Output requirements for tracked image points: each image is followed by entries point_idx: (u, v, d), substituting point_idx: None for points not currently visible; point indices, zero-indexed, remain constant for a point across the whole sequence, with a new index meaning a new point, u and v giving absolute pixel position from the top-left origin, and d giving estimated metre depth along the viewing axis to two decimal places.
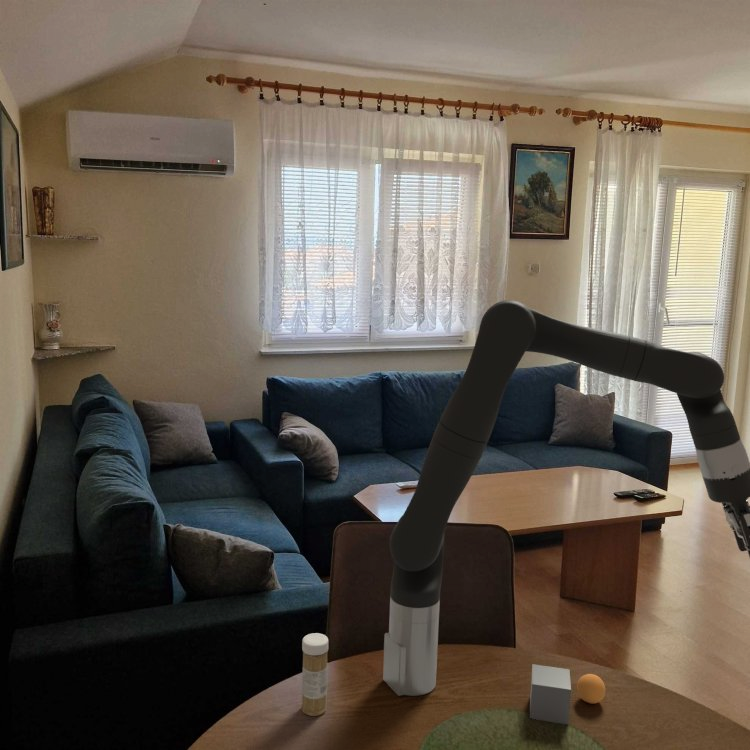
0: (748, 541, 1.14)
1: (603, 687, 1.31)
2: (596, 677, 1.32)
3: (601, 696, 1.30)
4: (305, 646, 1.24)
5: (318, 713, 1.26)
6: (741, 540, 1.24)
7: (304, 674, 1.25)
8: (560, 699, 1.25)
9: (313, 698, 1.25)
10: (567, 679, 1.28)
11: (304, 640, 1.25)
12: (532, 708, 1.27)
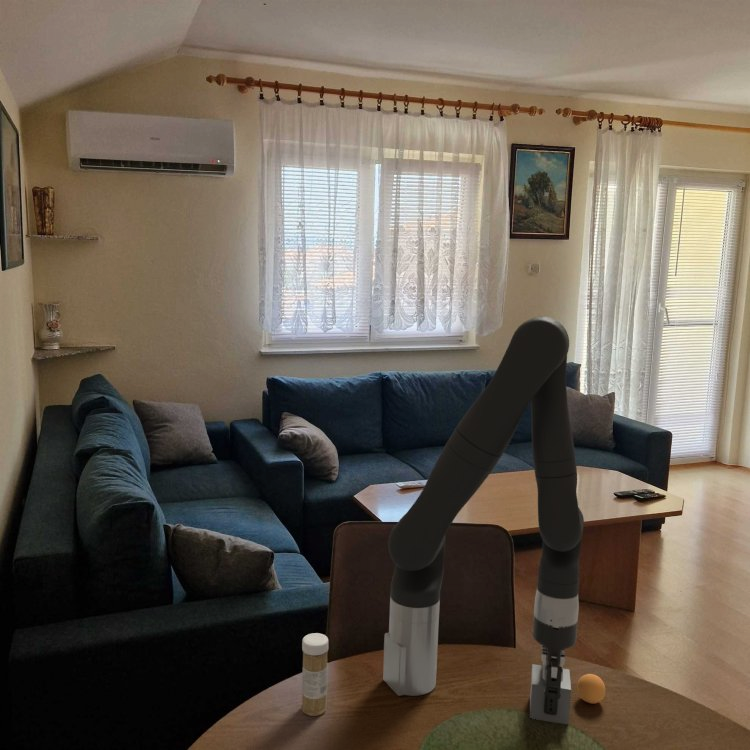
0: (546, 689, 1.22)
1: (603, 687, 1.31)
2: (596, 677, 1.32)
3: (601, 696, 1.30)
4: (305, 646, 1.24)
5: (318, 713, 1.26)
6: None
7: (304, 674, 1.25)
8: (560, 699, 1.25)
9: (313, 698, 1.25)
10: (567, 679, 1.28)
11: (304, 640, 1.25)
12: (532, 708, 1.27)
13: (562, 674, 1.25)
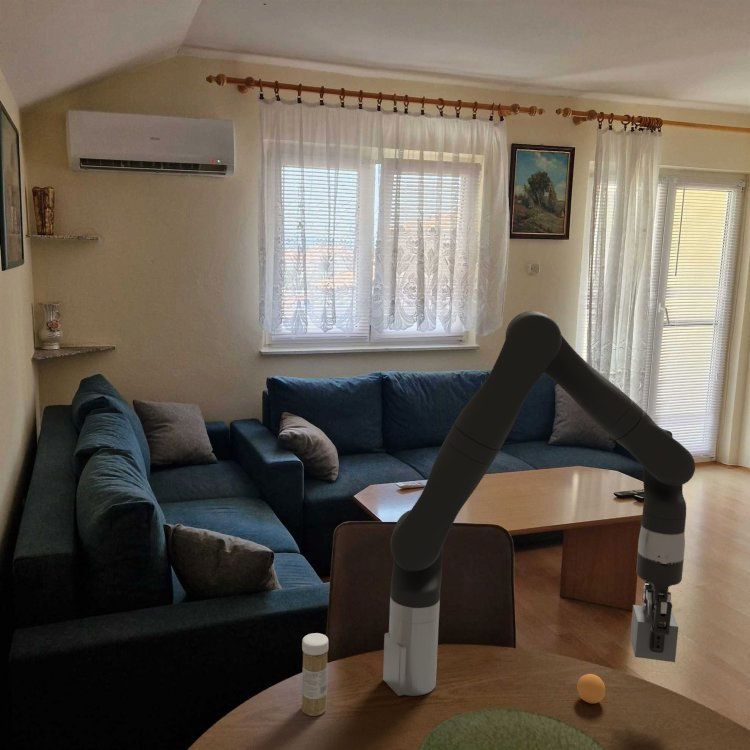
0: (655, 625, 1.22)
1: (603, 687, 1.31)
2: (596, 677, 1.32)
3: (601, 696, 1.30)
4: (305, 646, 1.24)
5: (318, 713, 1.26)
6: None
7: (304, 674, 1.25)
8: (667, 636, 1.25)
9: (313, 698, 1.25)
10: (672, 617, 1.27)
11: (304, 640, 1.25)
12: (638, 646, 1.26)
13: None
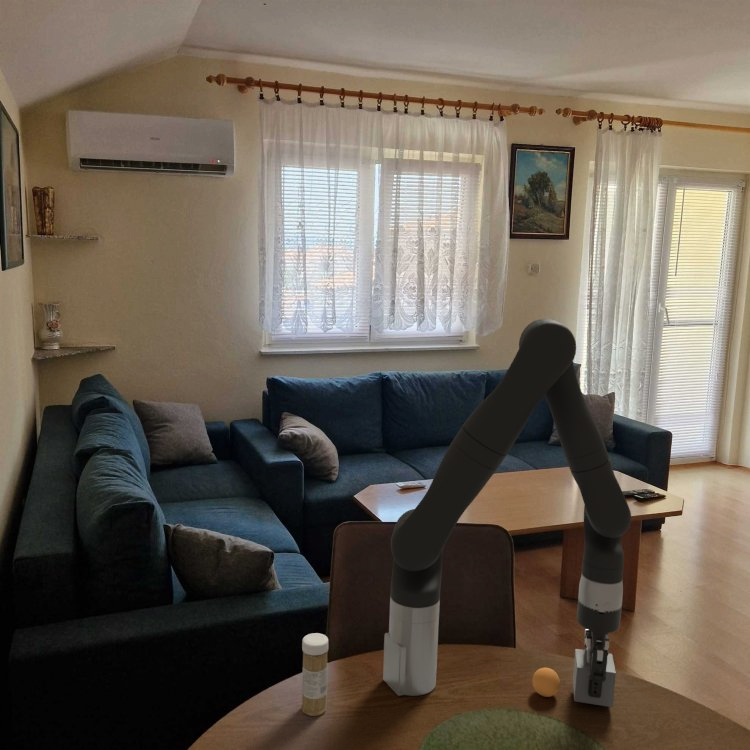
0: (592, 672, 1.25)
1: (535, 689, 1.34)
2: None
3: (537, 685, 1.33)
4: (305, 646, 1.24)
5: (318, 713, 1.26)
6: None
7: (304, 674, 1.25)
8: (605, 682, 1.28)
9: (313, 698, 1.25)
10: (611, 663, 1.31)
11: (304, 640, 1.25)
12: (577, 691, 1.30)
13: None
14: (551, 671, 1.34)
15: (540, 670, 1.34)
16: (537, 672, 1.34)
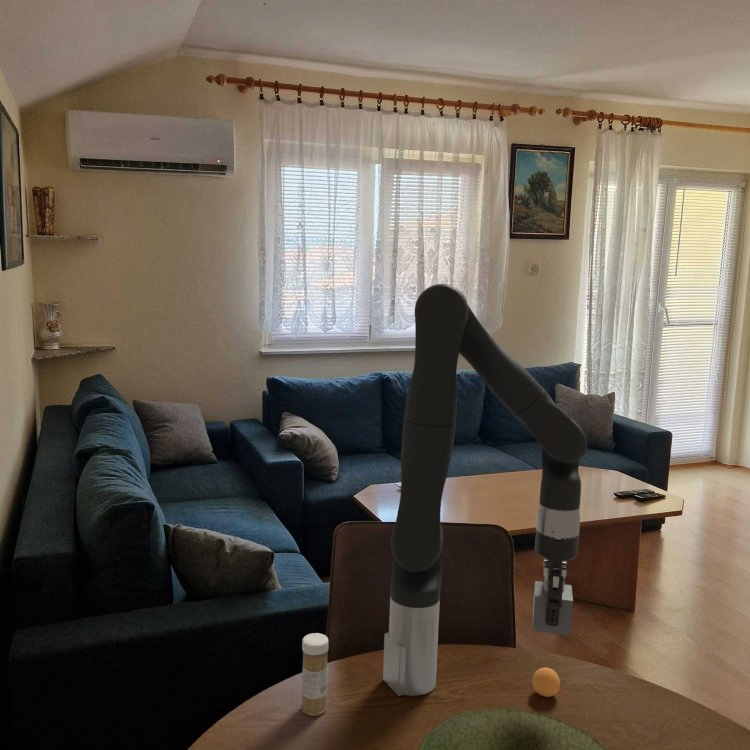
0: (548, 599, 1.25)
1: (535, 689, 1.34)
2: None
3: (537, 685, 1.33)
4: (305, 646, 1.24)
5: (318, 713, 1.26)
6: None
7: (304, 674, 1.25)
8: (562, 610, 1.28)
9: (313, 698, 1.25)
10: (569, 593, 1.31)
11: (304, 640, 1.25)
12: (535, 620, 1.30)
13: (563, 586, 1.28)
14: (551, 671, 1.34)
15: (540, 670, 1.34)
16: (537, 672, 1.34)
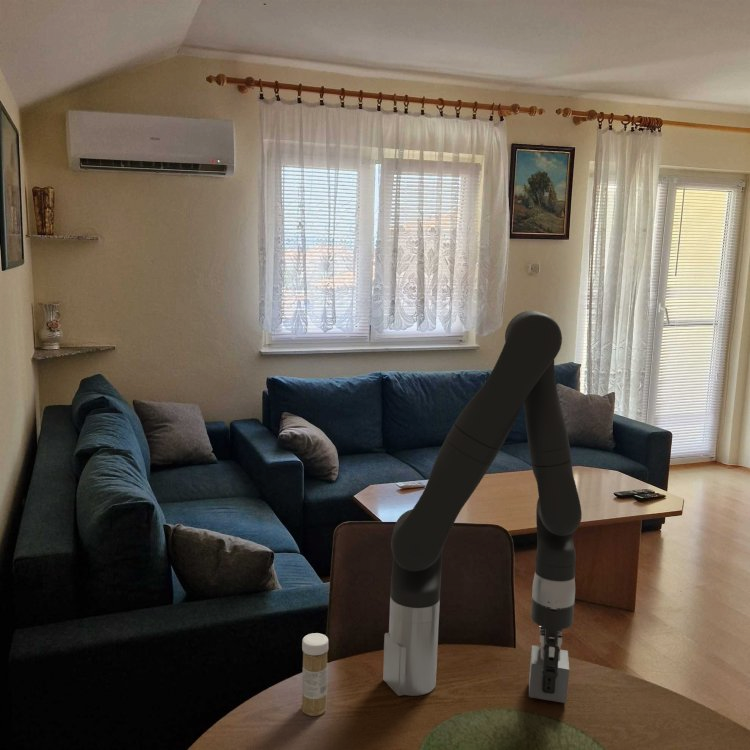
0: (544, 668, 1.27)
1: None
2: None
3: None
4: (305, 646, 1.24)
5: (318, 713, 1.26)
6: None
7: (304, 674, 1.25)
8: (558, 678, 1.30)
9: (313, 698, 1.25)
10: (565, 660, 1.33)
11: (304, 640, 1.25)
12: (531, 687, 1.32)
13: (559, 654, 1.30)
14: None
15: None
16: None
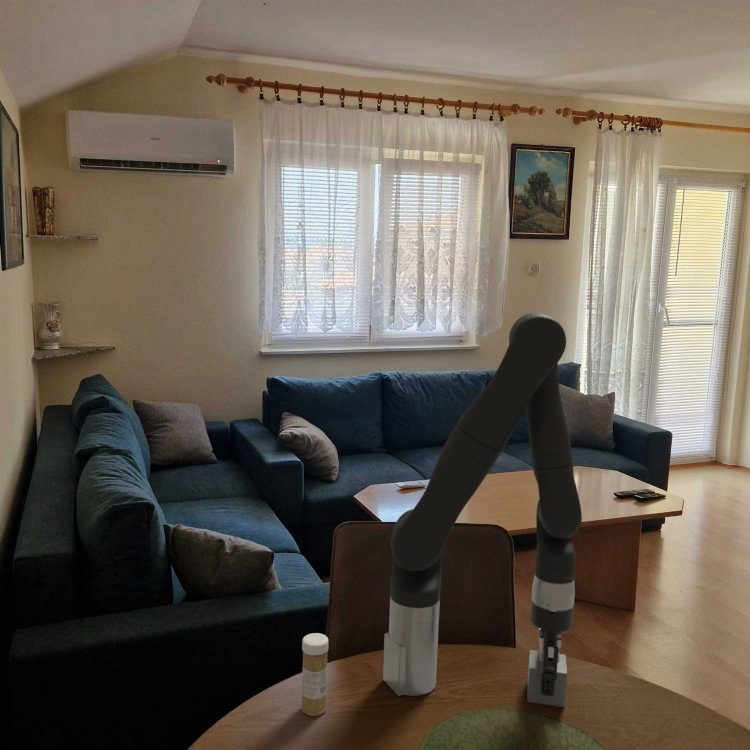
0: (543, 669, 1.27)
1: None
2: None
3: None
4: (305, 646, 1.24)
5: (318, 713, 1.26)
6: None
7: (304, 674, 1.25)
8: (556, 683, 1.30)
9: (313, 698, 1.25)
10: (563, 664, 1.33)
11: (304, 640, 1.25)
12: (529, 691, 1.32)
13: (559, 656, 1.29)
14: None
15: None
16: None
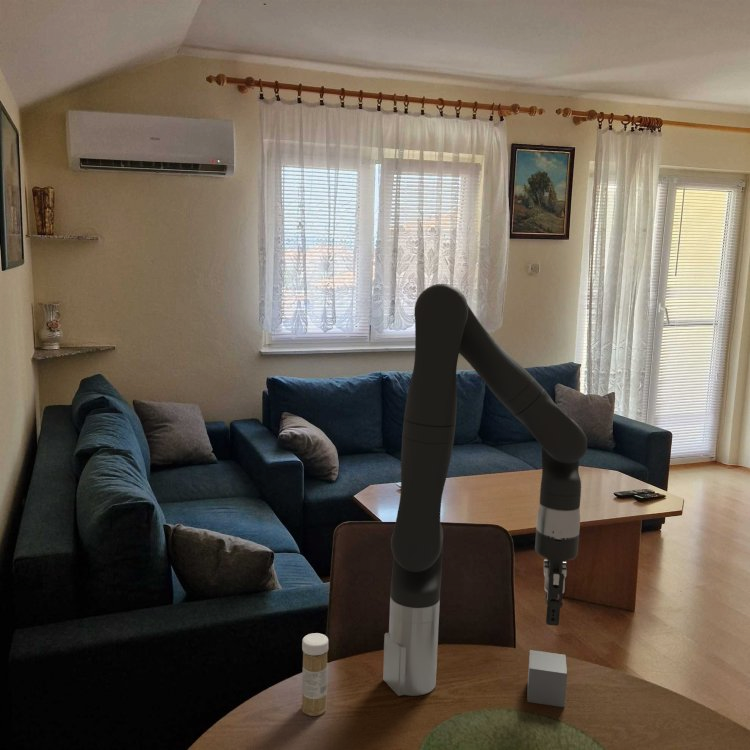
0: (548, 597, 1.25)
1: None
2: None
3: None
4: (305, 646, 1.24)
5: (318, 713, 1.26)
6: None
7: (304, 674, 1.25)
8: (556, 683, 1.30)
9: (313, 698, 1.25)
10: (563, 664, 1.33)
11: (304, 640, 1.25)
12: (529, 691, 1.32)
13: (564, 585, 1.27)
14: None
15: None
16: None
